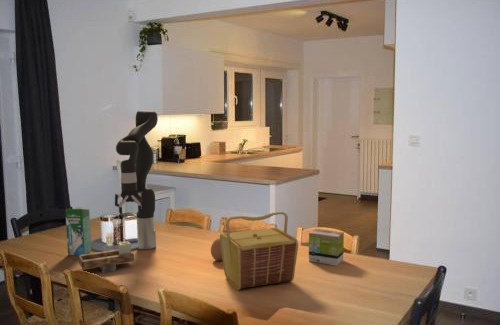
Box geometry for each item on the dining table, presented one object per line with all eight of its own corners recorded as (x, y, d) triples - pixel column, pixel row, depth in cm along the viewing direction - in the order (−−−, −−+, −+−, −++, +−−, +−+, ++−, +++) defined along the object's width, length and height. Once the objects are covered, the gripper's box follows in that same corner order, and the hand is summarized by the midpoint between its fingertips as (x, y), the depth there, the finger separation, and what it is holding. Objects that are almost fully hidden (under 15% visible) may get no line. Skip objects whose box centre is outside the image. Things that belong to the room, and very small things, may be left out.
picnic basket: (276, 267, 231) (275, 205, 228) (301, 285, 208) (300, 217, 204) (218, 275, 221) (216, 211, 217) (237, 296, 197) (235, 224, 194)
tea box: (308, 262, 239) (308, 232, 237) (315, 256, 247) (315, 228, 246) (337, 266, 232) (338, 236, 230) (343, 260, 240) (344, 231, 239)
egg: (207, 261, 241) (207, 239, 239) (216, 257, 248) (216, 235, 247) (222, 264, 237) (221, 241, 236) (230, 259, 244) (230, 237, 243)
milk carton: (91, 250, 263) (89, 205, 260) (84, 255, 254) (81, 208, 251) (75, 250, 264) (73, 205, 261) (67, 255, 255) (65, 208, 252)
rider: (129, 254, 241) (128, 240, 240) (131, 256, 237) (130, 242, 236) (118, 255, 239) (118, 241, 238) (121, 258, 234) (120, 244, 233)
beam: (128, 259, 246) (127, 247, 245) (135, 267, 233) (134, 254, 232) (78, 267, 235) (78, 254, 234) (83, 276, 222) (82, 262, 222)
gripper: (142, 179, 243) (143, 210, 245) (113, 181, 239) (114, 213, 241) (144, 181, 236) (145, 214, 238) (114, 183, 232) (115, 216, 234)
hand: (130, 213), depth 240 cm, fingers open, 8 cm apart
